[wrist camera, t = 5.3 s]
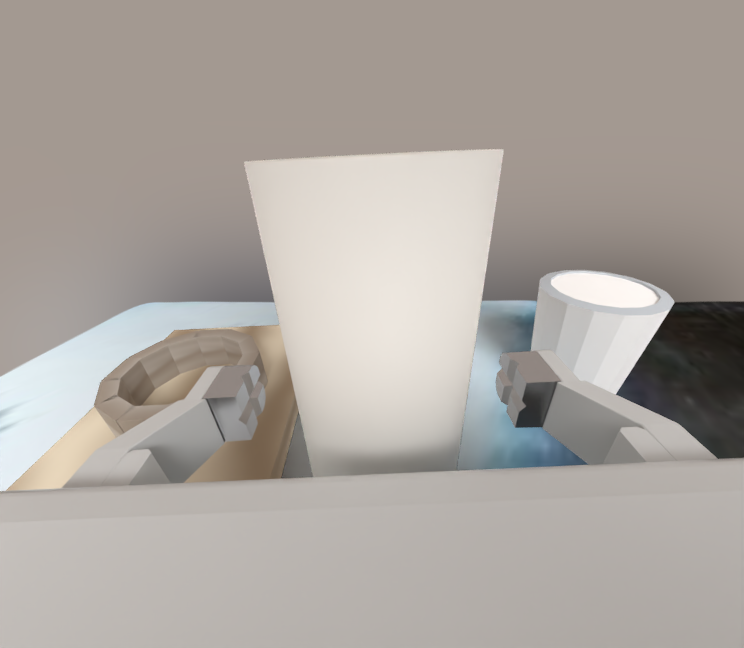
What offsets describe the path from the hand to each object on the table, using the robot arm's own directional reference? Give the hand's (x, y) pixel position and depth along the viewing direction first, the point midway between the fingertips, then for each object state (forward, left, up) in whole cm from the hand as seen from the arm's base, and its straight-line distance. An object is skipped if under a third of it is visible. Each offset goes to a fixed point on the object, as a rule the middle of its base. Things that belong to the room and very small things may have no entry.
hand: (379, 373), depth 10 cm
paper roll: (0, +1, -9) cm, 9 cm away
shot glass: (-14, -9, -9) cm, 19 cm away
